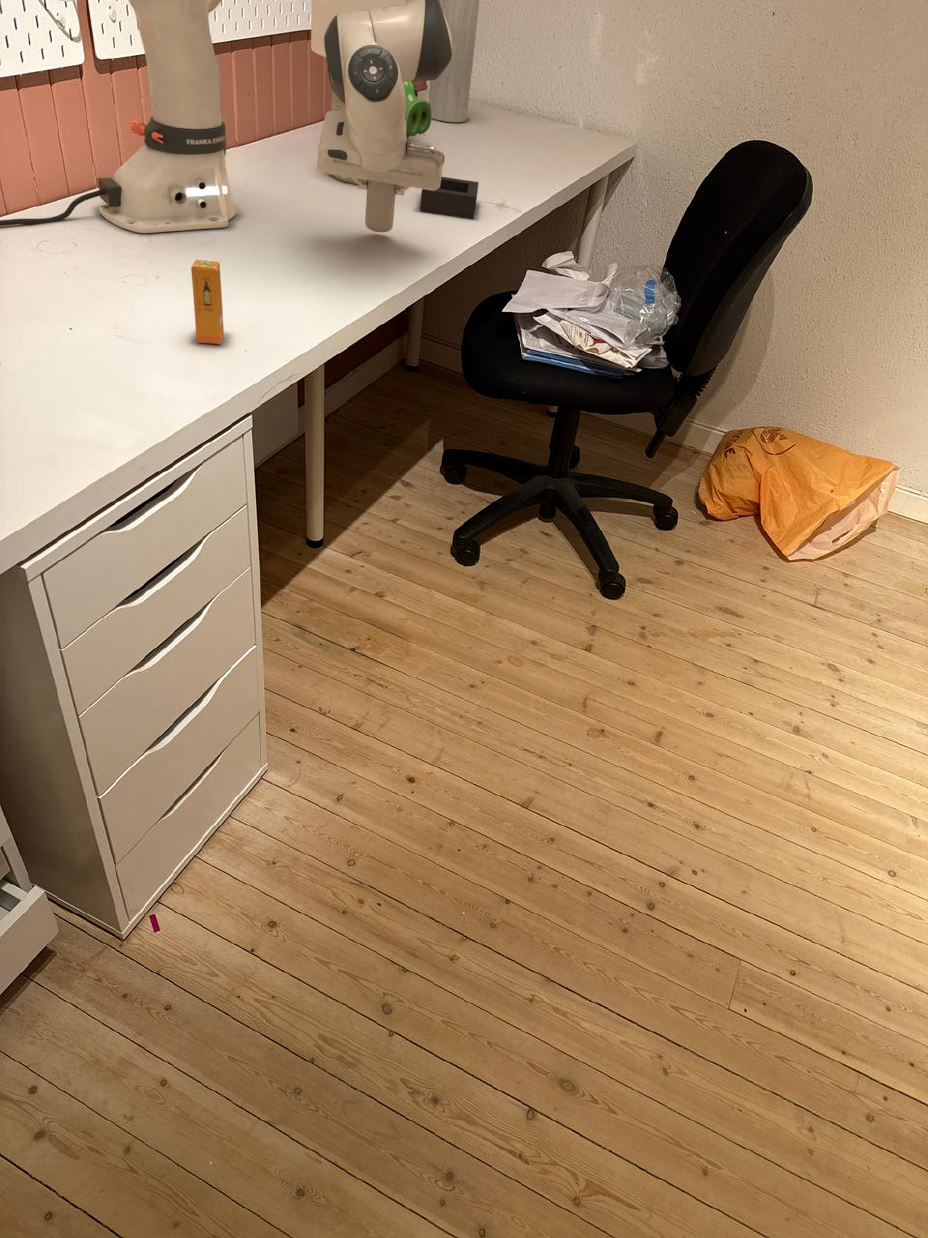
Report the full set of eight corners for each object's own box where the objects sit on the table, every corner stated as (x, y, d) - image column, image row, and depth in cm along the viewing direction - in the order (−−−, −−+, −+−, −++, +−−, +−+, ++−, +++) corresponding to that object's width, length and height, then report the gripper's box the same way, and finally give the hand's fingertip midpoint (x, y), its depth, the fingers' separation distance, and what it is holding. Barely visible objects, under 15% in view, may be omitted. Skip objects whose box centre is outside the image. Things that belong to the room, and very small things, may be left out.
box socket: (473, 218, 175) (475, 196, 172) (419, 211, 175) (421, 188, 172) (476, 203, 183) (478, 181, 180) (425, 195, 182) (426, 174, 180)
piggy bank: (398, 154, 203) (404, 77, 193) (333, 134, 209) (335, 58, 199) (434, 145, 213) (440, 71, 203) (370, 126, 219) (374, 53, 209)
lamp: (400, 198, 179) (419, -66, 152) (296, 180, 180) (297, -86, 153) (420, 171, 195) (440, -72, 168) (325, 154, 196) (330, -91, 169)
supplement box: (225, 334, 124) (221, 260, 118) (221, 345, 122) (217, 269, 115) (200, 332, 124) (195, 257, 118) (195, 343, 121) (190, 267, 115)
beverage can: (388, 235, 158) (394, 159, 150) (361, 229, 158) (366, 153, 150) (395, 226, 161) (401, 152, 154) (369, 221, 162) (373, 147, 154)
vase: (470, 124, 232) (484, -4, 215) (431, 121, 230) (442, -9, 212) (461, 114, 240) (475, -11, 222) (424, 111, 237) (434, -15, 220)
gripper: (447, 130, 143) (445, 180, 157) (316, 109, 142) (325, 161, 156) (441, 169, 142) (439, 215, 156) (310, 147, 142) (319, 196, 155)
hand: (381, 188), depth 156 cm, fingers closed on beverage can, 5 cm apart
